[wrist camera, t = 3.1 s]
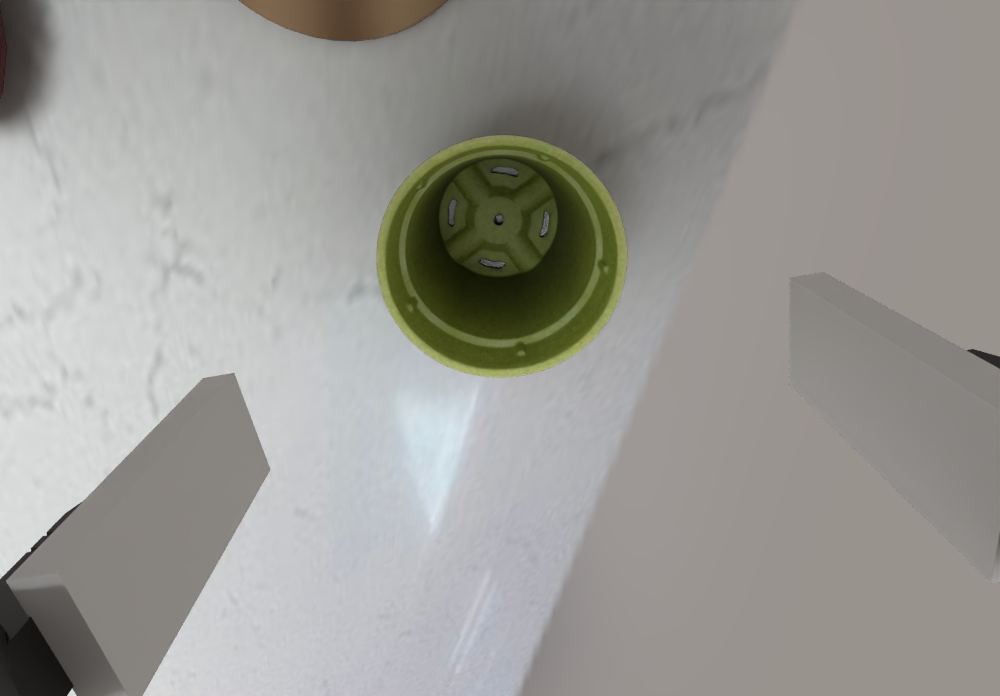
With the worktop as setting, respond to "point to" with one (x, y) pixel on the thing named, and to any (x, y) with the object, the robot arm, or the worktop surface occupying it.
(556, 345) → the plant pot
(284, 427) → the worktop surface
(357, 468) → the worktop surface
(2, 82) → the potato
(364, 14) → the plate
